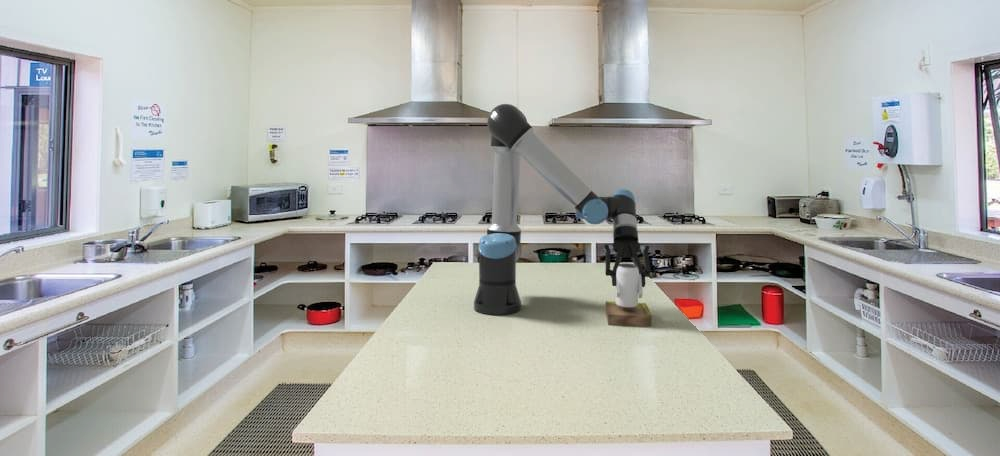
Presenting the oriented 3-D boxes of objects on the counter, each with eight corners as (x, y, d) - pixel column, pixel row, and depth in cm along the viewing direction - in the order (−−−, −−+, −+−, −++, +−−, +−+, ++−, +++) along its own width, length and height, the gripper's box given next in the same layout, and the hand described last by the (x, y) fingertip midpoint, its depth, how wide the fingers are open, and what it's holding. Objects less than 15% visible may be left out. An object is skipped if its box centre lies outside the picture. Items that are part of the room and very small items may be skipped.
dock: (608, 324, 143) (608, 312, 143) (605, 312, 155) (605, 301, 154) (651, 326, 141) (651, 314, 141) (645, 314, 153) (645, 302, 153)
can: (615, 307, 145) (617, 267, 144) (614, 301, 151) (616, 262, 150) (638, 308, 144) (640, 267, 142) (636, 302, 150) (638, 263, 149)
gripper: (654, 239, 159) (660, 303, 145) (594, 238, 162) (595, 300, 148) (657, 224, 153) (665, 289, 139) (595, 223, 156) (597, 287, 142)
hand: (629, 295), depth 144 cm, fingers closed on can, 6 cm apart
